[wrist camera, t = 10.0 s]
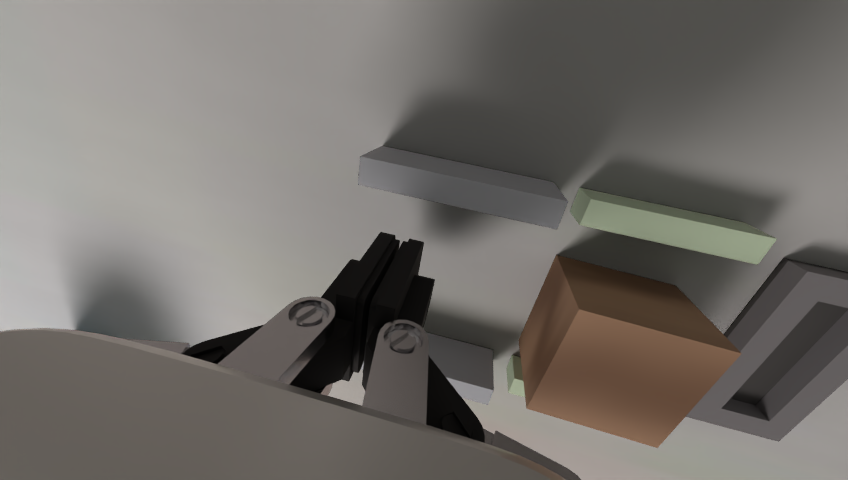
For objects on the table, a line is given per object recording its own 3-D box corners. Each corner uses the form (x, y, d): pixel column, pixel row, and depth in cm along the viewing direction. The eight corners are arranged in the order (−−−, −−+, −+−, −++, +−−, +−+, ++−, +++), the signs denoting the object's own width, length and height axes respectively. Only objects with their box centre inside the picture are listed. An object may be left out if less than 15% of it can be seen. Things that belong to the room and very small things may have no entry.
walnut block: (555, 253, 14) (579, 309, 10) (674, 283, 13) (741, 353, 10) (518, 337, 16) (526, 408, 12) (618, 366, 16) (657, 447, 12)
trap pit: (783, 258, 12) (807, 271, 11) (900, 283, 12) (935, 299, 11) (674, 398, 15) (685, 416, 15) (761, 420, 15) (778, 441, 14)
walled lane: (382, 145, 13) (360, 156, 11) (553, 181, 12) (568, 201, 10) (362, 329, 17) (343, 364, 15) (487, 363, 17) (487, 405, 14)
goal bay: (579, 187, 12) (590, 199, 11) (743, 222, 12) (776, 238, 10) (506, 368, 17) (508, 392, 15) (623, 400, 16) (635, 427, 15)
